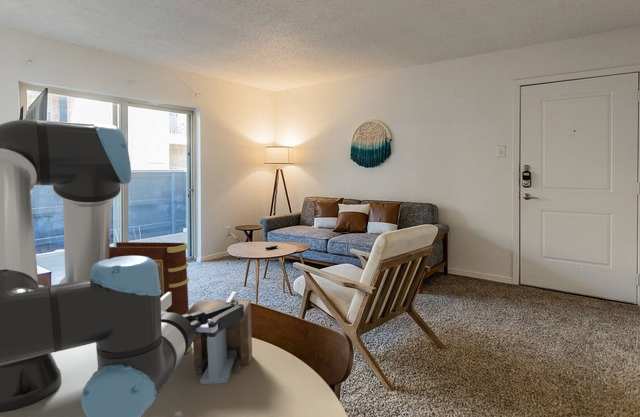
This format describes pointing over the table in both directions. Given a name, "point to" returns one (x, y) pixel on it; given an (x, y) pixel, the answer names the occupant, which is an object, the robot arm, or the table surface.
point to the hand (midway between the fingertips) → (202, 297)
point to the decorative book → (163, 268)
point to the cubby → (235, 336)
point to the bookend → (217, 360)
